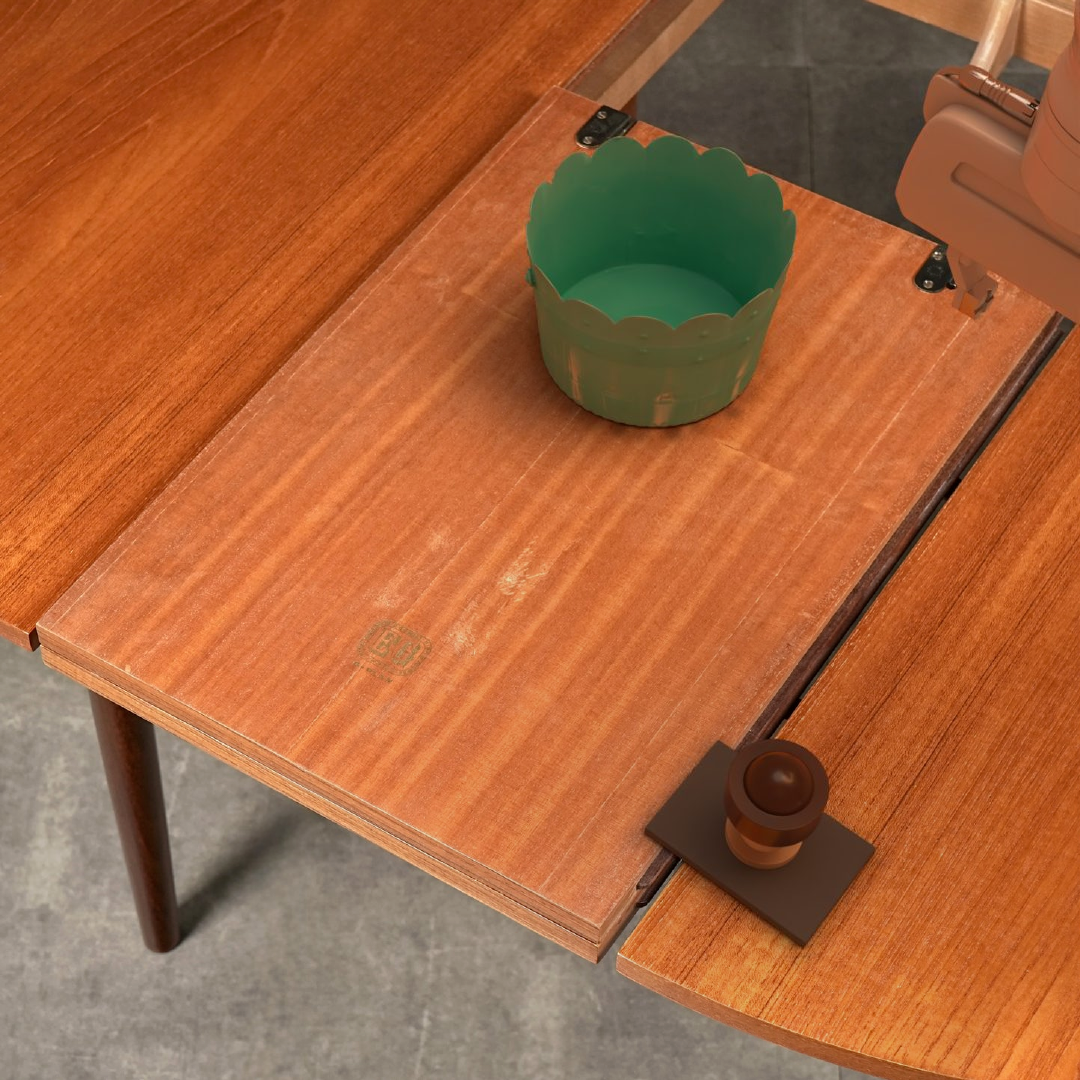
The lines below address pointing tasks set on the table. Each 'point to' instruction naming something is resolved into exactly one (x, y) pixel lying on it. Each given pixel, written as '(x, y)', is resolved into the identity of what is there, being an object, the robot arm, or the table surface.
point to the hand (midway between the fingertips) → (1045, 354)
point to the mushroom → (773, 801)
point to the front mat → (774, 894)
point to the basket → (656, 277)
